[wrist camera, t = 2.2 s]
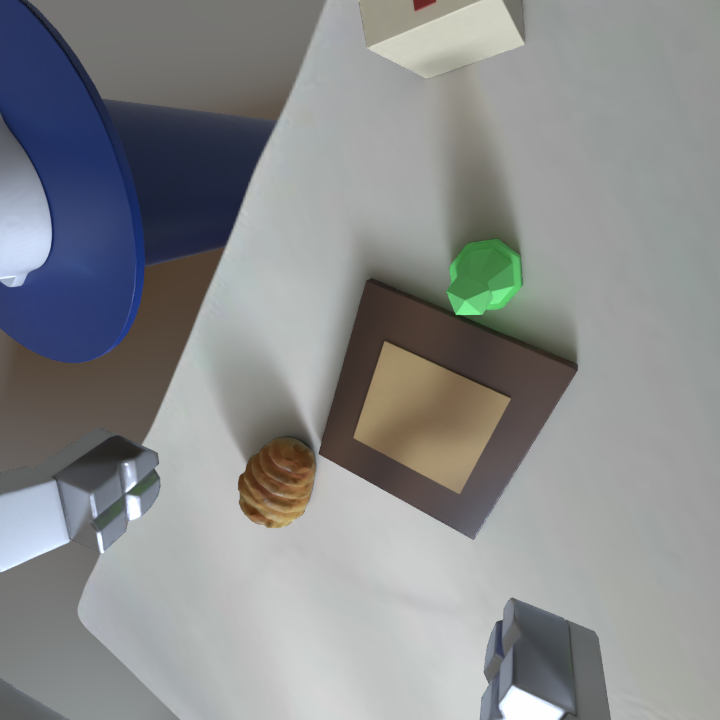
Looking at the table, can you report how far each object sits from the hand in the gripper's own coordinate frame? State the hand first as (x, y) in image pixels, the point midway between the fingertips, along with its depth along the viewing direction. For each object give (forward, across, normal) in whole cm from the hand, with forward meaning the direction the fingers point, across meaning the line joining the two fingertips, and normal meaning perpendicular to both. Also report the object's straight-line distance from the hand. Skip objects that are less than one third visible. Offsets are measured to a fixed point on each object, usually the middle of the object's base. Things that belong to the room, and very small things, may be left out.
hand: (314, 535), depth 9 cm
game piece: (+21, +2, +1) cm, 21 cm away
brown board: (+21, +1, -10) cm, 23 cm away
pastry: (+22, -10, -22) cm, 33 cm away
